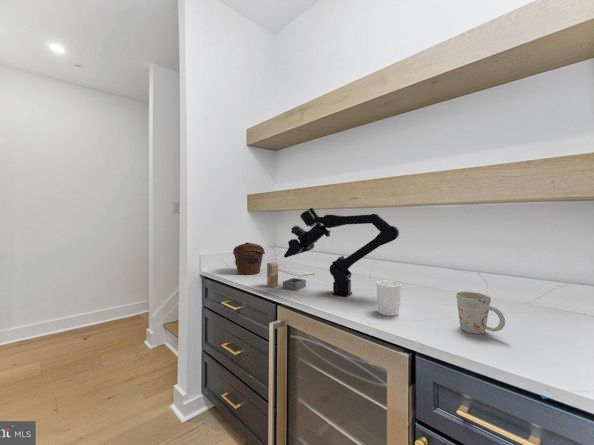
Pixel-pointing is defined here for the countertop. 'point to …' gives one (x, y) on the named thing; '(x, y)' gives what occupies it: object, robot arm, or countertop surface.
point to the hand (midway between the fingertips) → (288, 255)
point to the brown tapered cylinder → (248, 258)
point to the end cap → (294, 284)
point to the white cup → (388, 297)
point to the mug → (476, 312)
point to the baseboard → (294, 271)
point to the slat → (272, 274)
